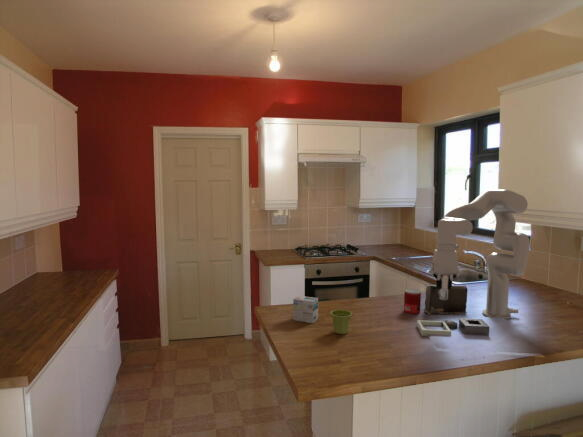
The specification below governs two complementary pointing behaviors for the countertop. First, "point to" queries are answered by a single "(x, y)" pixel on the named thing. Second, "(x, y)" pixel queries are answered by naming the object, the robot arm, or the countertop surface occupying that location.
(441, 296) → the pin
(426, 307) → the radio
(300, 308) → the light bulb box
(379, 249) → the countertop surface
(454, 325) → the wheel
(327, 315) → the countertop surface
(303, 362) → the countertop surface
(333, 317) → the plant pot
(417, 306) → the canned food
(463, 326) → the block
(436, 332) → the parts tray
